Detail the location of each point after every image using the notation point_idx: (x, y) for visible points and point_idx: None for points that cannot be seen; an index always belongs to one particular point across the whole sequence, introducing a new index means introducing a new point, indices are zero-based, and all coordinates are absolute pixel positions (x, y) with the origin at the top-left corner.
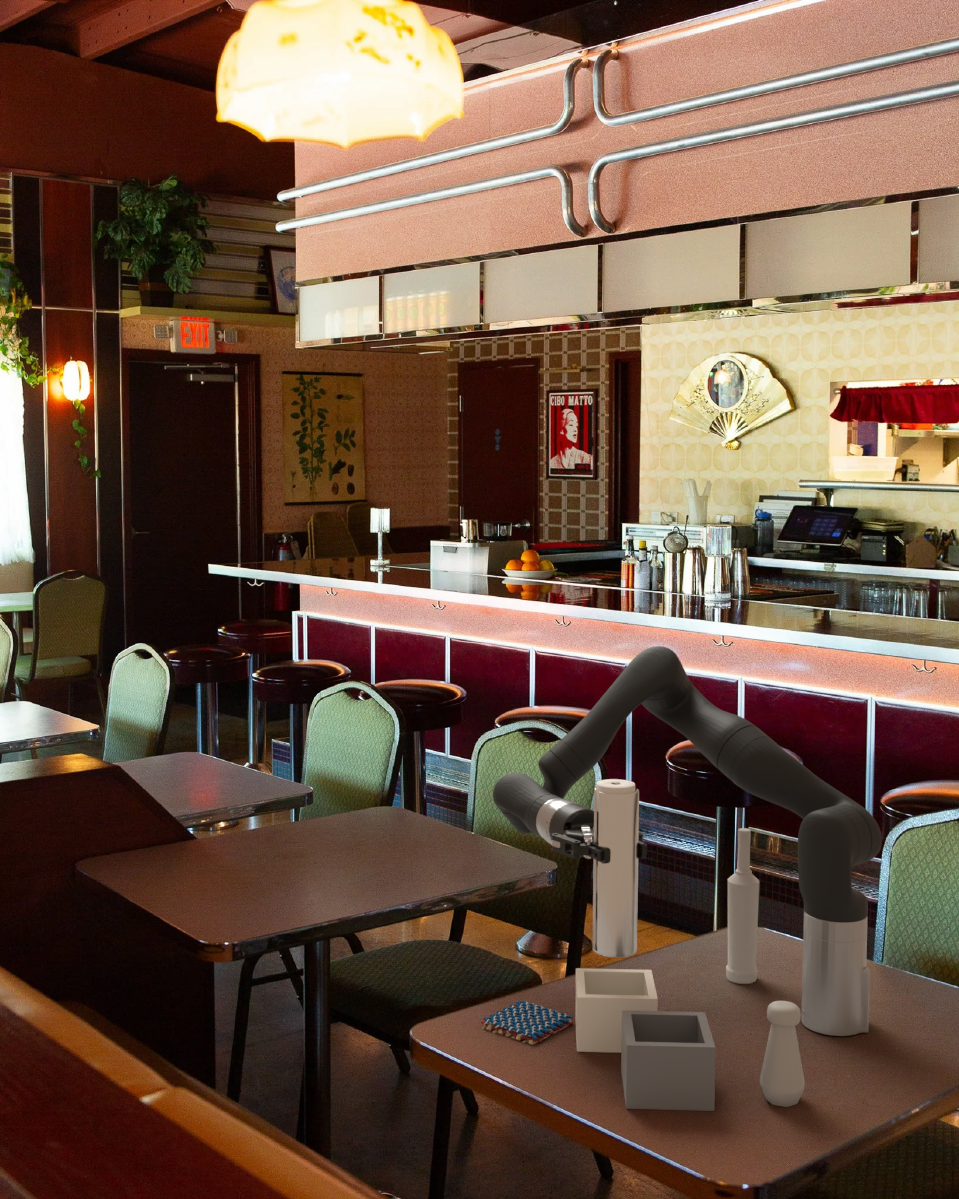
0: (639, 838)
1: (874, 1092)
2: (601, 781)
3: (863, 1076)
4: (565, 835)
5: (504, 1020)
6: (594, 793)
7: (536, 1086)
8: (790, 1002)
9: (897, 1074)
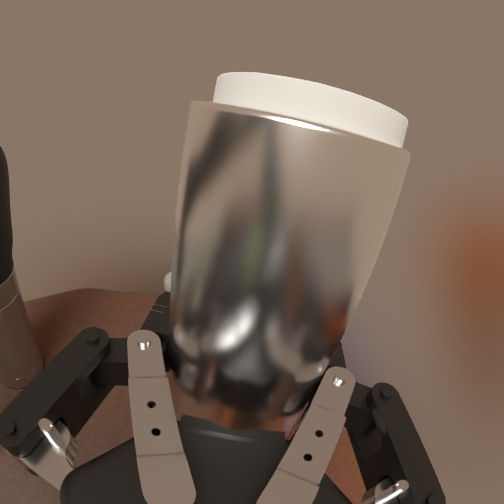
0: (112, 338)
1: (116, 310)
2: (374, 104)
3: (97, 321)
4: (400, 479)
5: None
6: (405, 173)
7: (345, 452)
8: (170, 274)
9: (80, 310)
